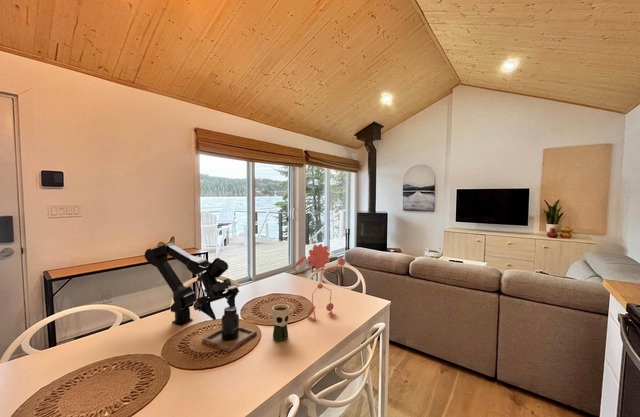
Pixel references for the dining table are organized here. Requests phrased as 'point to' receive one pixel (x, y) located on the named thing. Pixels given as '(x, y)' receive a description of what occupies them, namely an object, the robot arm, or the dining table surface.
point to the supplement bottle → (230, 324)
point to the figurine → (318, 260)
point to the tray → (229, 346)
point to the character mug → (280, 321)
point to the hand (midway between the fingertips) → (225, 315)
